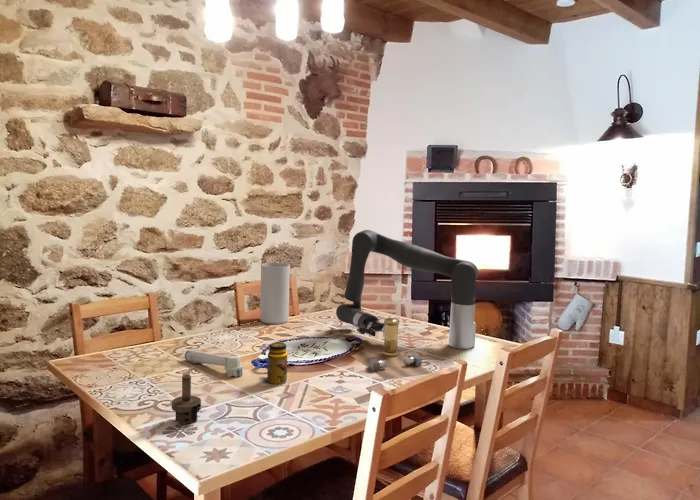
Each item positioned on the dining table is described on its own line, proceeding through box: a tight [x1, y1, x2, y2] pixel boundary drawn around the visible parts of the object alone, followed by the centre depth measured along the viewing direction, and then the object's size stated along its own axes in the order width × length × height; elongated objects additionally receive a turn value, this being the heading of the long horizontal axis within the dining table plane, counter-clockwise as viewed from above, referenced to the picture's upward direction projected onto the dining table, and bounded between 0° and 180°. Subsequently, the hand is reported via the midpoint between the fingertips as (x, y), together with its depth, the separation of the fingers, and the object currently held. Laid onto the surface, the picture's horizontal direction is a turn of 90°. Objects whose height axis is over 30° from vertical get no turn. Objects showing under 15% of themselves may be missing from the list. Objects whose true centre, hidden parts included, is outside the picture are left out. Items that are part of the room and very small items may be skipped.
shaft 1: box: [368, 359, 387, 373], centre depth 187 cm, size 5×4×3 cm
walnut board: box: [350, 351, 433, 380], centre depth 193 cm, size 18×26×1 cm
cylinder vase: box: [259, 262, 291, 325], centre depth 246 cm, size 12×12×25 cm
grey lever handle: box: [184, 348, 244, 378], centre depth 184 cm, size 5×7×25 cm
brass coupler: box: [382, 317, 400, 357], centre depth 202 cm, size 5×5×13 cm
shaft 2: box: [404, 354, 423, 367], centre depth 192 cm, size 5×4×3 cm
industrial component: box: [171, 374, 202, 425], centre depth 143 cm, size 9×7×12 cm
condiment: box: [259, 341, 290, 387], centre depth 173 cm, size 7×8×12 cm
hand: (385, 332), depth 207 cm, fingers open, 8 cm apart
